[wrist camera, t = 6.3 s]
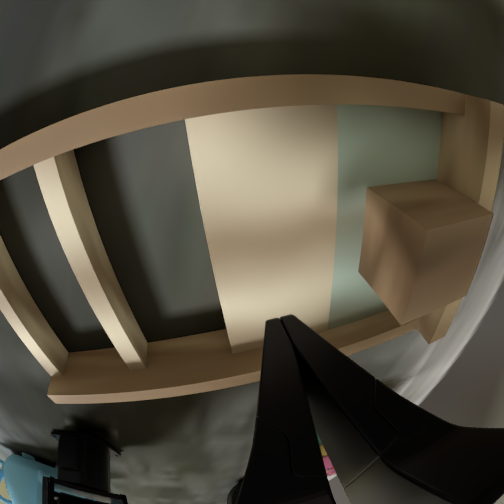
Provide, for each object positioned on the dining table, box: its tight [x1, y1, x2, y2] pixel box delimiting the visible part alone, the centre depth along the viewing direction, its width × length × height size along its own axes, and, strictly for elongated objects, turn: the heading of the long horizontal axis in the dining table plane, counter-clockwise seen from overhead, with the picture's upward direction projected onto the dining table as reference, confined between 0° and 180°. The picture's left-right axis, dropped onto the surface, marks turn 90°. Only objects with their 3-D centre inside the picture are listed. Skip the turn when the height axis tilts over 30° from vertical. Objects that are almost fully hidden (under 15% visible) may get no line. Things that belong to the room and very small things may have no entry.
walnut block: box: [358, 179, 493, 325], centre depth 11 cm, size 4×4×4 cm
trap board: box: [0, 74, 504, 404], centre depth 11 cm, size 14×25×5 cm, turn 96°
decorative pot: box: [0, 453, 96, 504], centre depth 23 cm, size 16×16×14 cm
